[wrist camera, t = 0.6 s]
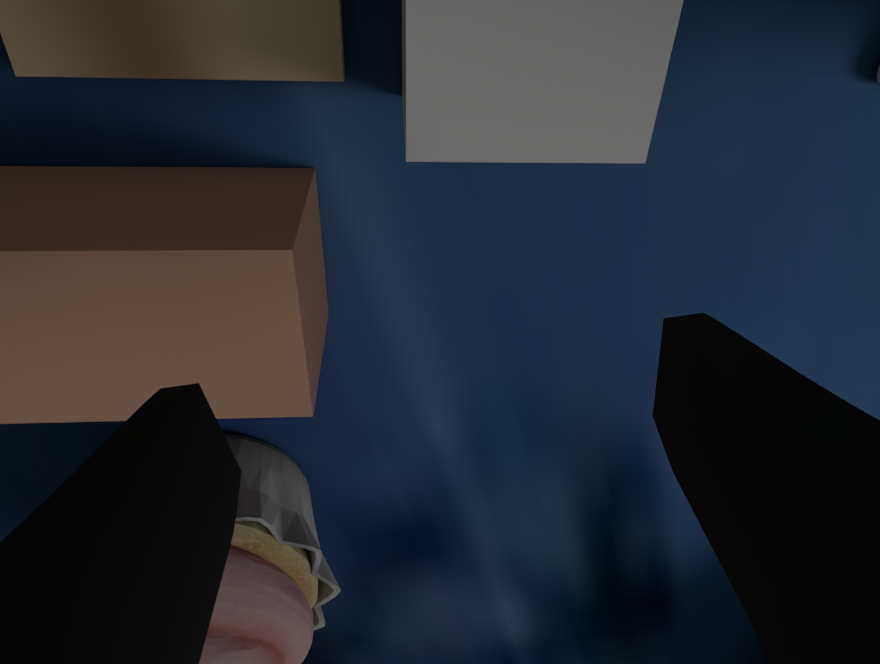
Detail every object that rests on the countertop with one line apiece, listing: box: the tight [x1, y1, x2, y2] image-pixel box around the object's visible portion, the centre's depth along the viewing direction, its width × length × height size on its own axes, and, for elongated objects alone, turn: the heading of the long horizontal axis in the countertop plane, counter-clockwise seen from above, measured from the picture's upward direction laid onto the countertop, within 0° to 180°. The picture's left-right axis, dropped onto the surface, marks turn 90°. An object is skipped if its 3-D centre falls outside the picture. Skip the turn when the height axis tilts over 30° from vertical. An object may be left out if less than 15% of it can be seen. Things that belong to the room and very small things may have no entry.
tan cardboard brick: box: [0, 166, 329, 424], centre depth 16 cm, size 9×5×5 cm, turn 88°
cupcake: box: [199, 434, 341, 664], centre depth 21 cm, size 9×9×10 cm
